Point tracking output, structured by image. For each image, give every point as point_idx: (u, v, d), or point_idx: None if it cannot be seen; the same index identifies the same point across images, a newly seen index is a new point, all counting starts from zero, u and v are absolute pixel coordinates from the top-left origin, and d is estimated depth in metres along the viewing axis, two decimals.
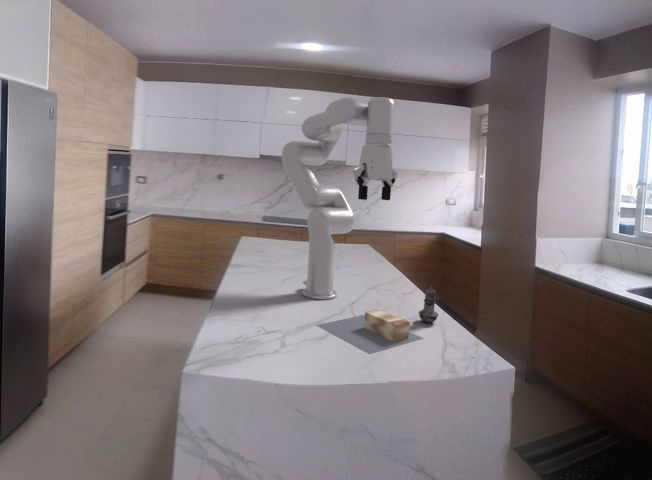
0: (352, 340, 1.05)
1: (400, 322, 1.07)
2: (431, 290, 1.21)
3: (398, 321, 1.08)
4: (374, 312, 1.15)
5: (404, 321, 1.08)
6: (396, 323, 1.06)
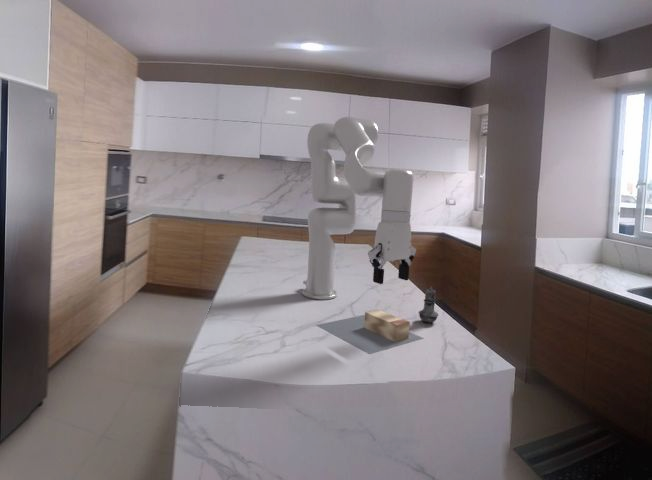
0: (352, 340, 1.05)
1: (400, 322, 1.07)
2: (431, 290, 1.21)
3: (398, 321, 1.08)
4: (374, 312, 1.15)
5: (404, 321, 1.08)
6: (396, 323, 1.06)
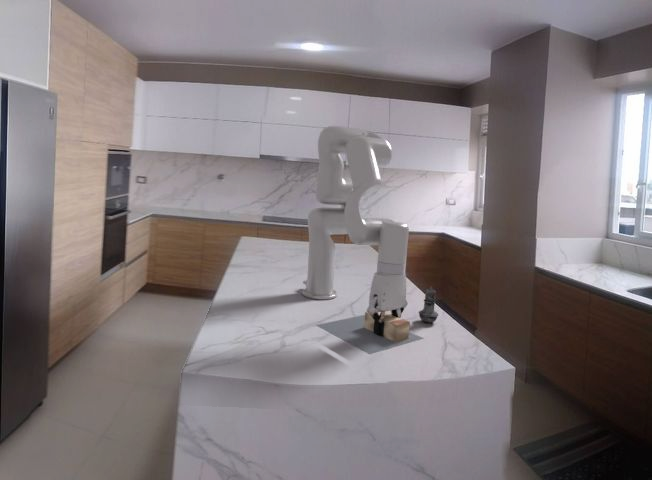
0: (352, 340, 1.05)
1: (400, 322, 1.07)
2: (431, 290, 1.21)
3: (398, 321, 1.08)
4: None
5: (404, 321, 1.08)
6: (396, 323, 1.06)
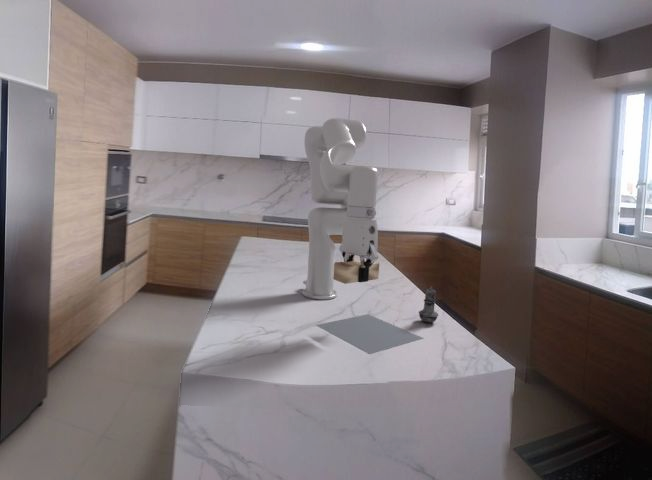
0: (352, 340, 1.05)
1: (342, 264, 1.08)
2: (431, 290, 1.21)
3: (344, 263, 1.09)
4: None
5: (346, 265, 1.07)
6: (338, 262, 1.09)
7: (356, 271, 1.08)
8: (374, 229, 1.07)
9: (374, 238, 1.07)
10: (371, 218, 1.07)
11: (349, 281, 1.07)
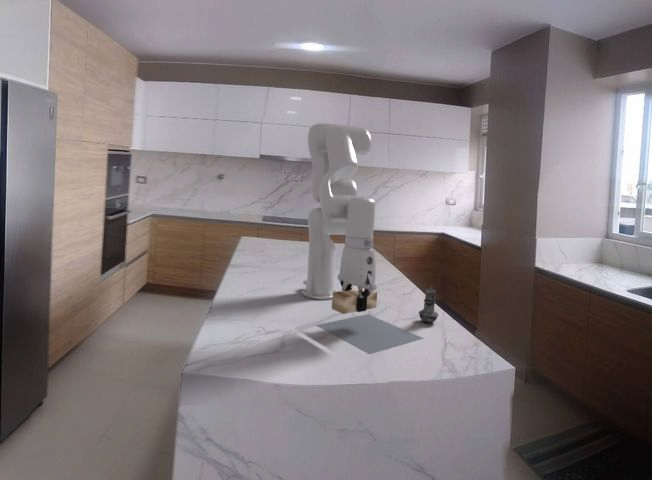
0: (352, 340, 1.05)
1: (340, 294, 1.09)
2: (431, 290, 1.21)
3: (343, 293, 1.09)
4: None
5: (344, 295, 1.08)
6: (336, 292, 1.10)
7: (354, 301, 1.09)
8: (372, 259, 1.08)
9: (372, 268, 1.08)
10: (369, 249, 1.08)
11: (347, 311, 1.08)
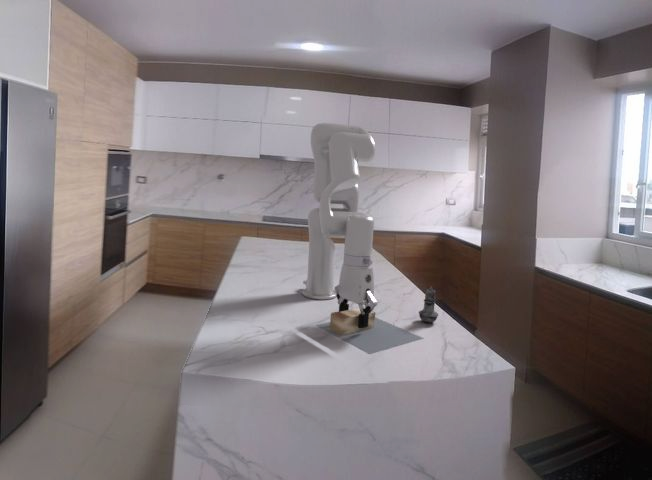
0: (352, 340, 1.05)
1: (338, 314, 1.10)
2: (431, 290, 1.21)
3: (341, 314, 1.11)
4: None
5: (342, 316, 1.09)
6: (335, 313, 1.11)
7: (352, 322, 1.10)
8: (370, 277, 1.09)
9: (370, 286, 1.09)
10: (367, 266, 1.09)
11: (345, 332, 1.09)
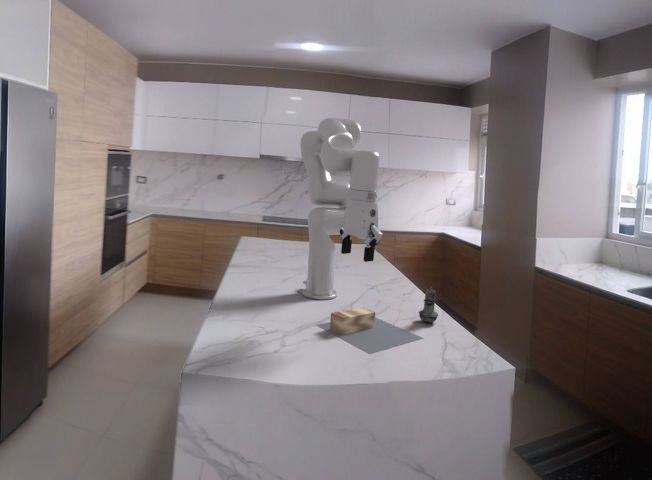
0: (352, 340, 1.05)
1: (338, 314, 1.10)
2: (431, 290, 1.21)
3: (341, 314, 1.11)
4: (364, 310, 1.16)
5: (342, 316, 1.09)
6: (335, 313, 1.11)
7: (352, 322, 1.10)
8: (375, 212, 1.10)
9: (374, 221, 1.10)
10: (372, 201, 1.09)
11: (345, 332, 1.09)
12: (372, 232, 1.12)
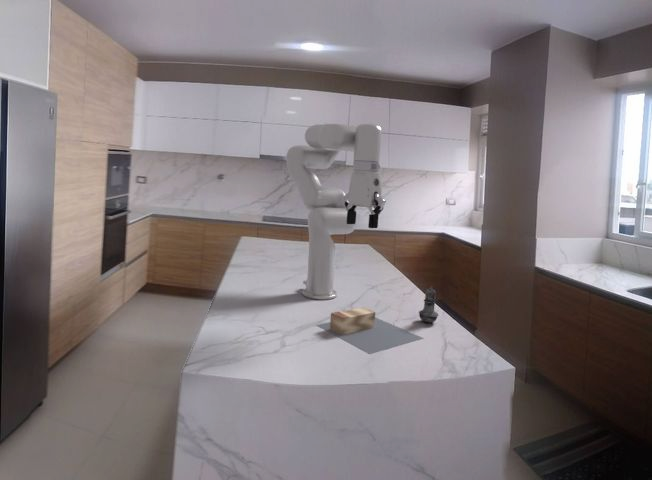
0: (352, 340, 1.05)
1: (338, 314, 1.10)
2: (431, 290, 1.21)
3: (341, 314, 1.11)
4: (364, 310, 1.16)
5: (342, 316, 1.09)
6: (335, 313, 1.11)
7: (352, 322, 1.10)
8: (378, 181, 1.17)
9: (378, 190, 1.17)
10: (375, 172, 1.17)
11: (345, 332, 1.09)
12: (376, 201, 1.20)
